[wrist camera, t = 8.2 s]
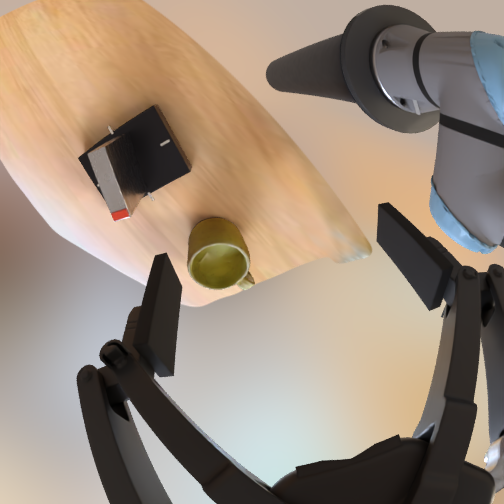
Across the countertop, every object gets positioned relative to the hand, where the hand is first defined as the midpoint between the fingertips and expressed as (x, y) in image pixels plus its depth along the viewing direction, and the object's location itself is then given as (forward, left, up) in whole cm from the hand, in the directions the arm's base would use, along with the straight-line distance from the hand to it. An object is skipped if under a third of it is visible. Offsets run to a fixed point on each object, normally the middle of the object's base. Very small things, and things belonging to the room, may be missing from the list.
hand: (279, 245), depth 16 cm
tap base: (+15, -6, -27) cm, 31 cm away
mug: (+10, +14, -27) cm, 32 cm away
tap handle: (+15, -6, -24) cm, 29 cm away
